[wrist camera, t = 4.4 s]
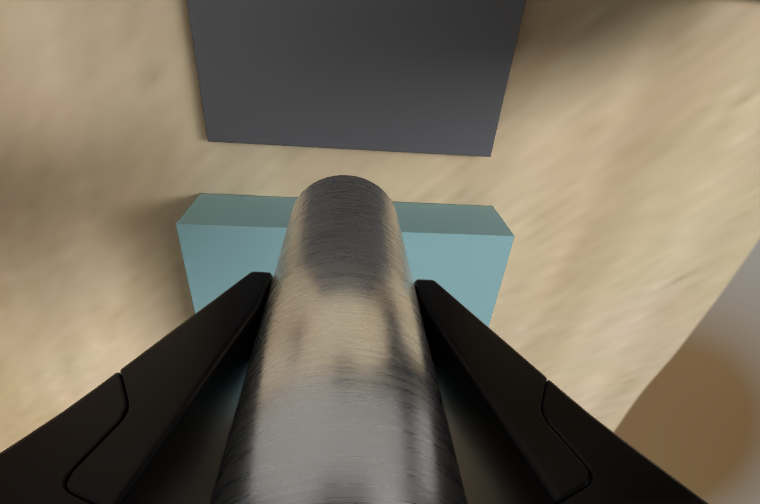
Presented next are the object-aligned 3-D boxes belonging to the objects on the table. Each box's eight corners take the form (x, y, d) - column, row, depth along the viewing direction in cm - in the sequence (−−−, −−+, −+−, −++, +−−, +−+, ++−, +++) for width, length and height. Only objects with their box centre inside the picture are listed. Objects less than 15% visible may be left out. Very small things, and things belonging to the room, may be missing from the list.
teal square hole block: (492, 206, 22) (514, 236, 19) (447, 394, 31) (457, 435, 28) (200, 193, 21) (175, 223, 18) (235, 394, 29) (222, 437, 26)
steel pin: (404, 179, 10) (653, 912, 2) (391, 273, 12) (498, 914, 3) (289, 171, 10) (-21, 1017, 2) (290, 268, 12) (135, 968, 3)
